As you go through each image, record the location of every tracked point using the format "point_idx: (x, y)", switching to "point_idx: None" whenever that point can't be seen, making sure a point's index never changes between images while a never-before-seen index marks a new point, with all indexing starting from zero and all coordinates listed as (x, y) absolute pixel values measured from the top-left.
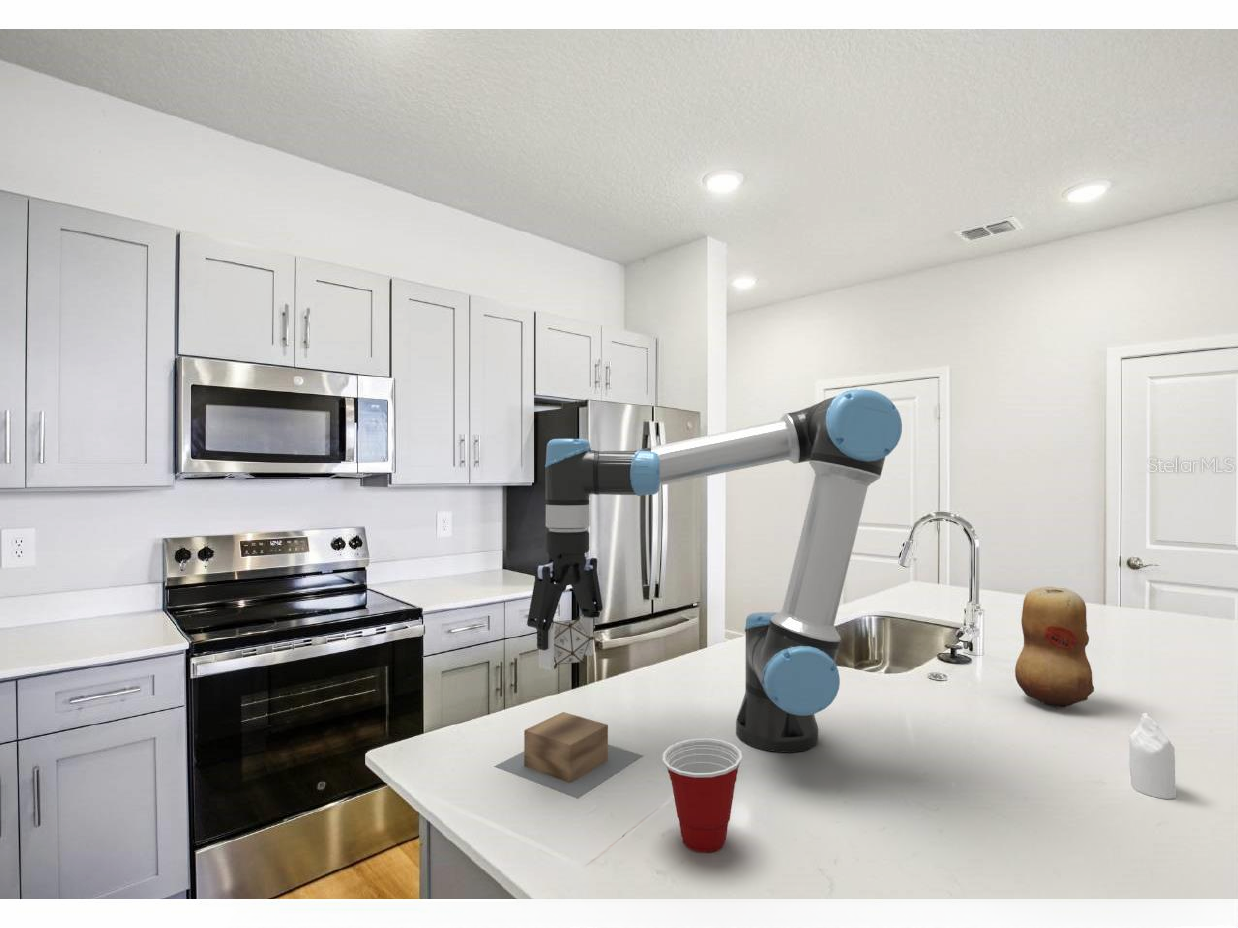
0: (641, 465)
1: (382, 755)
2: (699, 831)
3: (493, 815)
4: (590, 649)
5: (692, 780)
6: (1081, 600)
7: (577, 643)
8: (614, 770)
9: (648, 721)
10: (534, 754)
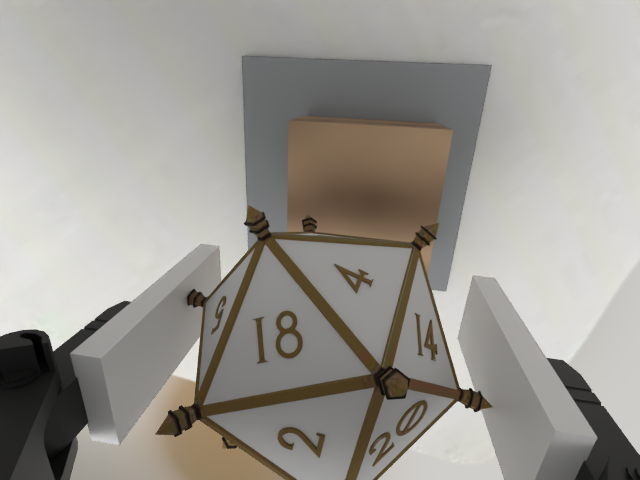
0: None
1: (485, 456)
2: None
3: (604, 182)
4: (206, 257)
5: None
6: None
7: (366, 262)
8: (339, 72)
9: (92, 154)
10: None
